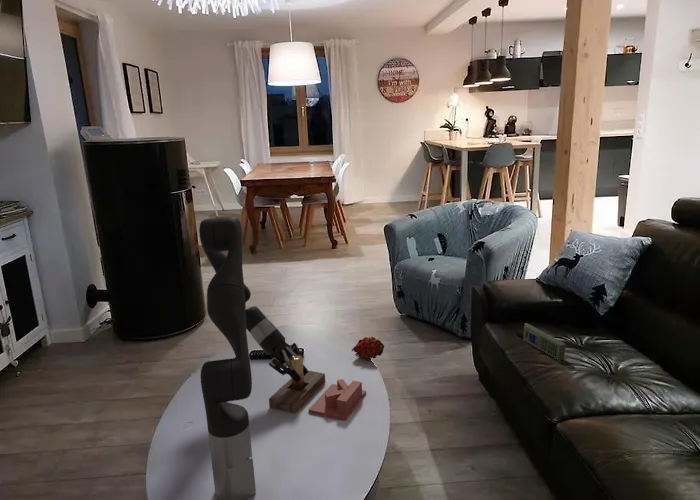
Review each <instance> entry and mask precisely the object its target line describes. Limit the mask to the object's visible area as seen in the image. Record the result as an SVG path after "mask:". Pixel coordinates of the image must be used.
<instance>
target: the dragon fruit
mask: <svg viewBox="0 0 700 500" xmlns="http://www.w3.org/2000/svg"><path fill="white" fill-rule="evenodd" d="M384 349H385V344H384V343H383V342H382V341H381V340H380V339H376V338H375V337H374V336H369V337H367V336H366V337H363V338H362V339H359V340H358V341H357V344H355V346H353V347H352V349H351V352H355V356H356V357H358V358H366V360H367V361H370V360H371V359H376V358H377V357H378V356H379V357H380V356H382V355H383V352H384Z"/></svg>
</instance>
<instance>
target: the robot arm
mask: <svg viewBox="0 0 700 500" xmlns="http://www.w3.org/2000/svg"><path fill="white" fill-rule="evenodd" d="M198 231H199V240H200V244H201V247H202V249H203V252H204V253H205V255H206V258H207V259H208V261H209V263H210V264H211V267H212V268H213V270H214V271H215V274H214V275H213V276H212V278H211V280H210V281H209V283H208V286H207V289H206V311H207V315H208V317H209V319H210V320H211V322H212V323H213V324H214V326H215V327H216V328H217V329H218V331H220V332H221V334H222V335H223V336H224V337H225V338H226V340H227V341H228V343H229V344H230V346H231V347H230V348H232V350H233V353H234V355H235V357H233V358H225V359H224V358H223V359H217V360H216V359H215V360H209V361H206V362H204V363H203V364H202V367H201V369H200V386H201V393H202V398H203V402H204V403H203V404H204V409H205V416H206V423H207V432H208V433H207V434H208V443H209V451H210V452H209V453H210V458H211V459H210V460H211V467H212V468H211V469H212V476H213V485H214V493H215V494H214V495H215V497H216V499H217V500H246V499H249V498H250V497H252V496H253V495H256V494H257V491H256V490H257V488H256V480H255V469H254V459H253V452H252V451H253V449H252V440H251V429H250V417H249V413H248V410H247V409H246V408H245V407H244V406H242V405H239V404H237V403H231V402H234V401H241V400H245V399H248V398H249V397H250V396H251V394H252V388H253V381H252V380H253V379H252V378H253V377H252V367H251V362H250V361H251V359H250V352H249V344H248V335H247V332H248V333H249V334H250V335H251V337H252V339H254V341H255V342H256V343H257V345H258V346H259V347H260V348H261V349H262V350H263V351H264V353H265V355H269V356H271V361H270V362H269V363H268V366H269V367H271V368H272V369H273V370H275V371H276V372H277V373H279V374H280V375H281V376H285V375H289V377H290V379H291V378H292V379H293V380H294V381H295V382H298V381H299V380H301V377H300V376H299V374H298V373H297V372H296V371H295V370H293V368H292V366H291V364H290V357H292V356H295V355H299V356H302V357H303V358H304V356H303V354H302V352H301V350H300V348H299V347H298V344H297V343H296V342H293V343H292V344H288V343H287V342H286V337H285V336H284V335H283V334H282V333H281V331H280V330H279V329H278V328H277V327H276V326H275V324H274V323H273V322H272V321H271V320H269V319H268V318H267V316H266V315H265V314H264V313H263V312H262V311H261V309H259V307H257V306H255V305H253V306H250V307H248V308H247V306H246V303H247V302H248V301H249V300H250V299H251V295H252V293H251V290H250V289H249V288H248V286H247V285H246V284H245V282H244V273H243V228H242V224H241V221H240V219H239V218H238V217H236V216H222V217H221V216H220V217H211V218H205V219H203V220H201V222H200V224H199V230H198ZM223 252H227V255H226V254H224V253H223ZM308 371H309V370H308V368H307V367H306V366H305V365H304V364H303V373H304V376H305V375H306V374H307V373H308Z"/></svg>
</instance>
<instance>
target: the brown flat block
mask: <svg viewBox="0 0 700 500" xmlns="http://www.w3.org/2000/svg"><path fill="white" fill-rule="evenodd" d="M325 383H326V373H323V372H317V371H313V370H308V373H307V374H306V375H305V376H304V389H303V390H302V391H298V390H293V389H292V385H291V378H290V379H288V380H287V382H285V383H284V384H283V385H282V386H281V387H280V388H279V389H278V390H277V391H276V392H274V393H273V394H272V395H271V396H270V397H268V405H269V408H270V409H274V410H279V411H282V412H287V413H291V414H297V412H298V411H300V409H301V408H302V407H303V406H304V405H305V404H306V403H307V402H308V401H309V400H310V399H311V398H312V397H313V396H314V394H315V393H317V391H318V390H319V389H320V388H321V387H322V386H323V385H324V384H325Z"/></svg>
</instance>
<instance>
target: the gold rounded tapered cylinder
mask: <svg viewBox="0 0 700 500" xmlns="http://www.w3.org/2000/svg"><path fill="white" fill-rule="evenodd" d="M302 356H303V355H302ZM302 356H299V355H298V354H297V355H295V356H292V357H290V364H291V366H292V368H293V370H295V371H296V372H297V373H298V374H299V376H300V377H301V380H299V381H298V382H295V381H294V380H293V379H292V378H291V377H290V379H291V385H292V389H293V390H298V391H302V390H303V389H304V373H303V365H304V360H303V359H304V356H303V357H302Z"/></svg>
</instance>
